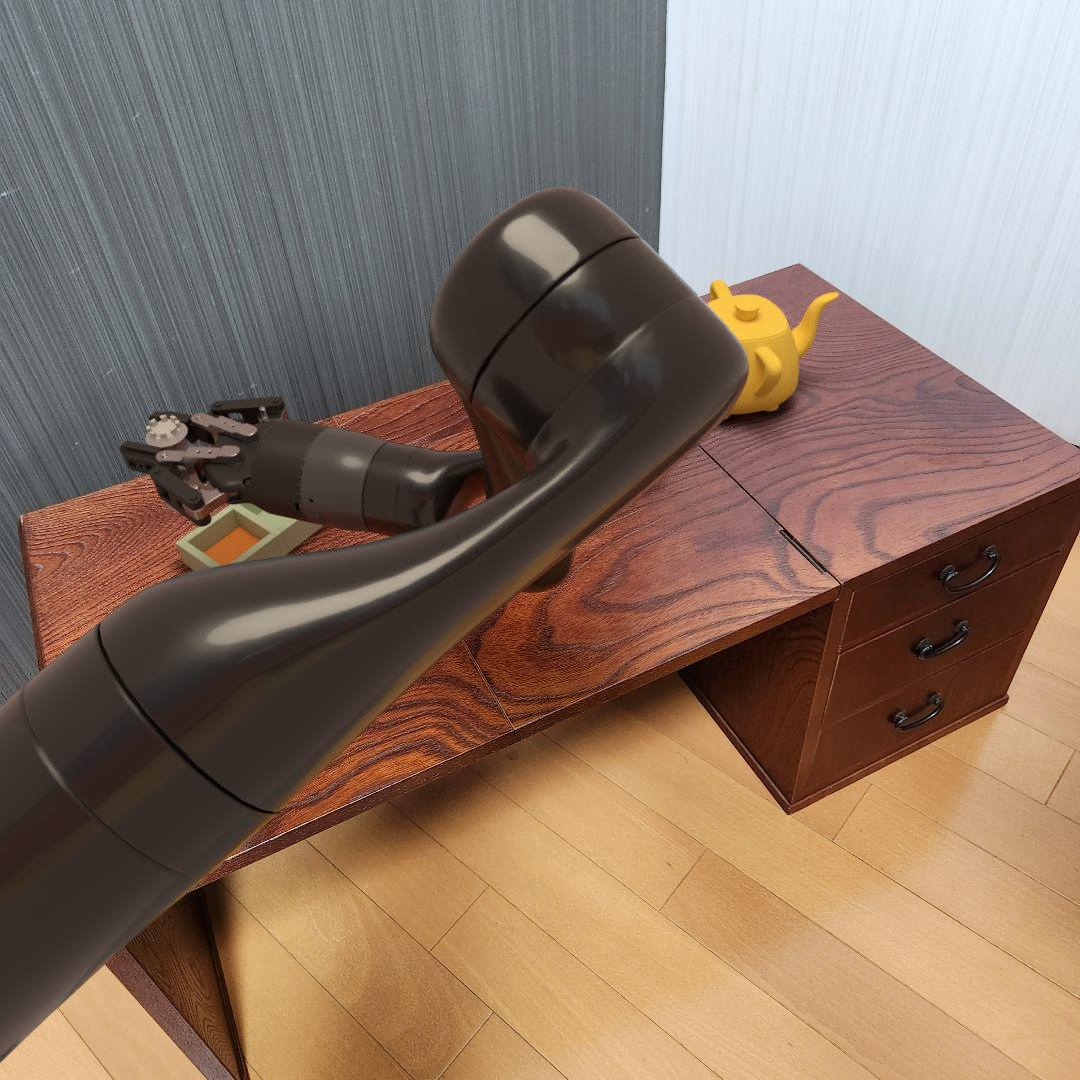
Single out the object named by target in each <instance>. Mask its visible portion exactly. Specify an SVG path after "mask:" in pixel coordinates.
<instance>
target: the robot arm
mask: <svg viewBox="0 0 1080 1080" xmlns="http://www.w3.org/2000/svg"><path fill="white" fill-rule="evenodd" d="M698 295H699V294H698V293H697V292H696V290H694V289H693V288H692V287H691V286H690V285H689V283H687V282H686V281H685V279H683V278H682V277H681V276H680V275H679V274H678V273H677V272H676V271H675V269H674V268H673V267H672V266H670V265H669V264H668V262H667V261H666V260H665V259H663V257H662V256H661V255H660V254H659V253H658V252H657V251H656V250H655V249H654V248H653V247H652V246H651V245H650V244H649V243H648V242H647V241H646V240H645V239H643V237H642V236H641V235H640V234H639V233H638V232H637V231H636V230H635V229H634V228H633V227H632V226H631V225H630V224H629V223H628V222H626V221H625V220H624V219H623V218H622V216H620V215H619V214H617V213H616V212H615V211H614V210H613V209H612V208H610V207H609V206H608V205H607V204H605V203H604V202H603V201H601V200H600V199H598V198H597V197H595V196H594V195H592V193H591V194H590V193H588V192H586V191H583V190H580V189H578V188H576V187H575V188H574V187H571V186H552V187H548V188H545V189H541V190H538V191H535V192H532V193H530V194H528V195H526V196H525V197H523V198H521V199H519V200H517V201H515V202H514V203H513V204H511V205H510V206H508V207H507V208H505V209H504V210H503V211H501V212H500V213H499V214H497V215H496V216H494V217H493V218H492V219H491V220H490V221H488V222H487V223H486V224H485V225H484V226H483V227H482V228H481V229H480V230H479V231H478V232H476V234H475V235H474V236H473V237H472V238H471V239H470V241H468V242H467V244H465V246H463V248H462V249H461V250H460V251H459V254H458V255H457V256H456V258H455V259H454V260H453V261H452V263H451V264H450V265H449V268H448V270H447V272H446V273H445V275H444V277H443V278H442V280H441V282H440V284H439V286H438V289H437V291H436V294H435V297H434V300H433V303H432V306H431V310H430V314H429V325H428V330H429V331H428V337H429V343H430V347H431V351H432V354H433V356H434V358H435V360H436V362H437V364H438V365H439V368H440V369H441V370H442V372H443V374H444V375H445V377H446V379H447V380H448V382H449V383H450V385H451V386H452V388H453V390H454V391H455V393H457V395H458V396H459V399H460V401H461V403H462V405H463V408H464V411H465V412H466V416H467V417H468V420H469V423H470V425H471V427H472V431H473V433H474V436H475V438H476V441H477V444H478V448H479V449H464V450H463V449H460V450H458V449H457V450H440V449H433V448H427V447H422V446H417V445H411V444H406V443H401V442H396V441H391V440H387V439H383V438H380V437H378V436H375V435H371V434H368V433H364V432H362V431H355V430H349V429H346V428H345V429H344V428H339V427H334V426H328V425H323V424H319V423H312V422H308V421H302V420H298V419H291V418H289V414H288V411H287V408H286V403H285V401H284V398H283V397H280V396H268V397H267V396H266V397H255V398H241V399H228V400H226V399H225V400H216V401H213V402H212V403H210V405H209V409H210V410H209V411H207V412H206V413H205V412H197V413H194V414H188V413H182V412H176V411H171V410H166V411H159V410H154V411H153V412H152V413H151V414H150V415H149V416H148V420H149V422H150V421H151V420H152V419H155V420H156V422H159V421H161V418H160V416H162V415H166V416H167V418H168V419H170V416H171V415H173V416H176V417H177V420H179V421H180V422H181V423H183V424H185V426H186V427H187V435H186V437H185V439H186V440H188V441H189V442H190V444H193V445H194V444H196V443H197V442H198V441H199V444H201V445H202V446H191V445H190V447H189V448H188V449H187V451H175V450H163V448H161V447H156V446H151V445H148V444H147V443H141V442H137V441H136V442H135V441H131V440H124V441H123V443H122V444H121V445H119V447H118V449H119V451H120V454H121V456H122V458H123V460H124V462H125V465H126V466H127V468H128V469H129V470H130V471H133V472H136V473H137V472H138V473H142V474H146V475H149V477H150V479H151V481H152V482H153V485H154V486H155V489H156V491H157V495H158V497H159V499H160V500H162V501H163V502H164V503H165V502H166V503H167V504H168V505H170V506H171V507H173V508H174V509H175V510H177V511H178V512H179V513H181V514H180V515H182V516H183V517H185V518H186V519H187V520H189V521H190V522H191V523H192V524H194V525H195V526H197V527H204V526H207V525H208V524H210V523H211V521H212V519H211V518H212V516H211V513H213V512H214V511H215V510H217V509H219V508H220V507H222V506H223V505H224V504H228V505H230V504H231V505H236V504H243V503H250V504H253V505H255V506H257V507H258V508H260V509H262V510H263V511H265V512H267V513H269V514H273V515H277V516H282V517H286V518H291V519H295V520H300V521H305V522H309V523H314V524H318V525H323V527H329V528H332V529H338V530H342V531H347V532H361V533H371V534H377V535H381V536H385V538H380V539H377V540H373V541H369V542H364V543H359V544H358V543H357V544H353V545H352V544H351V545H347V546H342V547H336V548H335V547H334V548H329V549H321V550H314V551H307V552H301V553H300V552H299V553H292V554H286V555H284V556H277V557H270V558H263V559H256V560H249V561H243V562H237V563H232V564H227V565H221V566H216V567H210V568H205V569H201V570H197V571H194V570H192V571H189V572H185V573H183V574H179V575H176V576H172V577H170V578H167V579H164V580H162V581H159V582H157V583H155V584H154V583H153V584H152V585H150V586H147V587H145V588H143V589H142V590H140V591H138V592H137V593H135V594H134V595H132V596H130V597H128V598H127V599H126V600H124V601H123V602H122V603H121V604H120V605H118V606H117V607H115V608H114V609H113V610H112V611H111V612H109V613H108V614H106V616H104V617H103V618H102V619H101V620H100V621H99V622H98V623H96V624H95V625H94V626H93V627H91V628H90V629H89V630H88V631H87V632H85V633H84V634H83V635H82V636H80V637H79V638H78V639H77V640H76V641H75V642H73V643H72V644H71V645H70V646H68V648H66V649H65V650H64V651H62V652H61V653H60V654H59V655H58V656H56V658H54V659H53V660H51V662H50V663H48V664H47V665H46V666H44V667H43V668H42V669H41V670H40V671H39V672H37V673H36V674H35V675H34V676H32V677H31V678H30V679H29V680H27V681H26V682H25V683H24V684H23V685H22V686H21V687H20V688H19V689H17V690H16V691H15V692H14V693H13V694H12V695H11V696H10V697H9V698H8V699H6V700H5V702H4V703H2V704H1V706H0V1064H2V1063H3V1061H4V1060H6V1058H7V1057H9V1055H10V1054H11V1053H13V1052H14V1051H15V1050H16V1049H17V1048H18V1046H20V1045H21V1044H22V1043H23V1042H24V1041H25V1040H26V1039H27V1038H28V1037H29V1036H30V1035H31V1034H33V1032H34V1031H35V1030H36V1029H37V1028H38V1027H40V1026H41V1025H42V1024H43V1023H44V1021H46V1020H47V1019H48V1018H49V1017H50V1016H51V1015H52V1014H53V1013H54V1012H55V1011H56V1010H57V1009H58V1008H60V1007H61V1006H62V1005H63V1004H64V1003H65V1002H67V1001H68V999H69V998H71V997H72V996H73V995H74V994H75V993H76V992H77V991H78V990H79V989H80V988H82V986H83V985H84V984H86V983H87V982H88V981H89V980H90V979H91V978H92V977H93V976H95V974H96V973H98V971H100V970H101V969H102V968H103V967H104V966H105V965H106V964H108V962H110V961H111V960H112V959H113V958H114V957H115V956H116V955H118V953H119V952H121V950H123V949H124V948H126V946H128V945H129V944H130V943H131V942H132V941H133V940H134V939H136V938H137V937H138V936H139V935H140V934H141V933H142V932H144V930H146V929H147V928H148V927H149V926H151V925H152V924H153V923H154V922H156V920H158V919H159V918H160V917H161V916H162V915H163V914H165V913H166V912H167V911H168V910H169V909H170V908H172V907H174V905H175V904H176V903H178V902H179V901H180V900H182V899H183V898H184V897H185V896H186V895H187V894H188V893H190V892H191V891H192V890H193V889H194V888H196V887H197V886H198V885H200V883H202V882H203V881H204V880H205V879H207V878H208V877H209V876H210V875H211V874H212V873H213V872H214V871H216V870H217V869H218V868H220V866H221V865H223V864H224V862H226V861H227V860H228V859H229V858H230V857H232V856H233V855H234V854H235V853H236V852H237V851H238V850H240V848H241V847H242V846H244V844H246V843H247V842H248V841H249V840H250V839H252V838H253V837H254V836H255V835H256V834H257V833H259V831H260V830H261V829H263V828H264V827H265V826H266V825H267V824H268V823H270V821H272V820H273V819H274V818H275V817H276V816H277V815H278V814H279V812H280V811H282V810H283V809H285V807H287V806H288V805H289V804H290V803H291V802H292V801H293V800H294V799H295V798H296V797H297V796H298V795H300V794H301V792H302V791H303V790H305V789H306V788H307V787H308V786H309V785H310V784H311V783H312V782H313V781H314V780H315V779H316V778H317V777H318V776H319V775H321V773H322V772H323V771H324V770H325V769H327V767H329V766H330V765H331V764H332V763H333V762H334V761H335V760H336V759H338V757H339V756H340V755H342V754H343V752H344V751H345V750H346V749H347V748H349V747H350V745H352V744H353V742H355V741H356V740H357V739H358V738H359V737H360V736H361V735H362V734H363V733H364V732H365V731H367V729H368V728H370V727H371V725H372V724H373V723H375V722H376V721H377V719H379V718H380V717H381V716H382V715H383V714H384V713H385V712H386V711H387V710H388V709H390V707H391V706H392V705H394V704H395V703H396V701H398V699H400V698H401V697H402V696H403V695H404V694H405V693H406V692H407V691H408V690H409V689H411V687H413V685H415V684H416V683H417V682H418V681H419V680H421V678H422V677H423V676H424V675H425V674H426V673H428V671H430V670H431V669H432V668H433V667H434V666H435V665H436V664H438V663H439V662H440V661H441V660H442V659H443V658H444V657H445V656H447V654H449V653H450V652H451V651H452V650H453V649H454V648H455V647H457V646H458V645H459V644H460V643H461V642H463V641H464V640H465V639H466V638H467V637H468V636H469V635H470V634H472V633H473V632H474V631H475V630H477V629H478V628H479V627H480V626H481V625H483V623H485V622H486V621H487V620H489V619H490V618H491V617H492V616H493V615H495V614H496V613H498V612H499V611H500V610H501V609H502V608H503V607H505V606H506V605H507V604H508V603H510V602H511V601H512V600H513V599H514V598H516V597H517V596H518V595H519V594H521V593H523V594H524V593H525V594H539V593H544V592H547V591H550V590H553V589H555V588H557V587H559V586H561V585H562V584H563V583H564V582H565V581H566V580H567V579H568V578H569V576H570V575H571V571H572V568H573V564H574V560H575V556H576V552H577V548H578V547H579V546H580V545H582V544H583V543H585V541H587V540H589V538H590V537H592V536H593V535H594V534H595V533H596V532H598V531H599V530H600V529H602V528H603V527H604V526H605V525H607V524H608V523H609V522H611V521H612V520H613V519H615V517H616V516H618V515H619V514H620V513H622V512H623V511H624V510H625V509H627V508H628V507H629V506H630V505H632V504H633V503H634V502H636V501H637V500H638V499H639V498H640V497H641V496H643V495H644V494H645V493H647V491H649V490H650V489H651V488H653V487H654V486H655V485H656V484H657V483H658V482H660V481H661V480H662V479H663V478H664V477H666V476H667V475H668V474H669V473H670V472H671V471H673V470H674V469H675V468H677V466H678V465H680V464H681V463H682V462H683V461H684V460H685V459H686V458H687V457H689V456H690V455H691V454H692V453H693V452H694V451H695V450H696V449H697V448H698V447H700V445H702V443H703V442H705V440H707V438H708V437H709V436H710V435H711V434H712V433H713V432H714V431H715V430H716V429H717V427H718V426H719V425H720V424H721V423H722V422H723V421H725V419H724V418H725V417H726V416H727V415H728V413H729V412H730V411H731V409H732V408H733V406H734V405H735V403H736V402H737V400H738V398H739V396H740V395H741V393H742V391H743V389H744V386H745V384H746V382H747V378H748V374H749V362H748V357H747V354H746V351H745V349H744V347H743V346H742V344H741V343H740V341H739V340H738V339H737V337H736V336H735V335H734V333H733V332H732V331H731V330H730V329H729V327H728V326H727V325H726V324H725V323H724V322H723V321H722V320H721V319H720V317H719V316H718V315H717V314H716V313H715V312H714V311H713V310H712V309H711V308H710V307H709V306H708V304H707V303H708V302H706V301H704V299H702V298H701V297H699V296H698ZM230 414H240V415H241V416H242V418H231V416H230ZM177 465H179V466H184V467H185V468H186V470H184V469H179V468H178V466H177ZM188 484H189V485H188ZM190 485H192V487H191V486H190ZM484 496H485V499H484V500H483V501H481V502H480V503H478V504H476V505H473V506H471V505H472V504H473V503H474V502H475V501H477V500H478V499H480V498H481V497H484ZM179 513H178V514H179Z"/></svg>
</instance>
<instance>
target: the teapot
mask: <svg viewBox="0 0 1080 1080" xmlns="http://www.w3.org/2000/svg"><path fill="white" fill-rule="evenodd" d="M839 296H840V293H839V292H837V291H831V292H828V293H824V294H822V295H820V296H818V297H816V298H815V299H814V300H812V302H811V303H810V305H808V307H807V309H806V310H805V313H804V315H803V317H802V319H801V320H800V322H799V323H798V324H797V326H795V328H793V329H791V327H790V324H789V321H788V320H787V317H786V316H785V314H784V313H783V311H782V310H781V309H780V308H779V307H778V306H777V305H776V304H775V303H773V302H772V301H771V300H769V299H768V298H766V297H764V296H761V295H758V294H738V295H733V294H732V292H731V290H730V287H729V286H728V284H727V283H726V282H725V281H724V280H722V279H715V280H713V281H712V282H711V283H710V286H709V302H706V303H707V304H708V306H709V307H710V308H711V309H712V310H713V311H714V312H715V313H716V314H717V315H718V316H719V317H720V319H721V320H722V321H723V322H724V323H725V324H726V325H727V326H728V327H729V329H730V330H731V331H732V332H733V333H734V335H735V336H736V337H737V339H738V340H739V341H740V343H741V344H742V346H743V347H744V349H745V351H746V354H747V357H748V362H749V374H748V378H747V382H746V384H745V386H744V389H743V391H742V393H741V395H740V396H739V398H738V400H737V402H736V403H735V405H734V406H733V408H732V409H731V411H730V412H729V413H728V415H727V416H726V417H725V418H724V420H726V419H728V418H729V417H730V416H731V415H745V414H753V413H757V412H762V411H765V412H774V411H776V410H778V409H779V406H780V405H781V404H783V403H784V402H785V401H787V399H789V398H790V397H791V396H792V395H793V394H794V393H795V391H796V389H797V387H798V383H799V376H800V375H799V374H800V360H801V359H802V358H803V357H804V356H805V355H806V354H807V353H808V352H809V351H810V349H811V347H812V346H813V343H814V341H815V338H816V334H817V329H818V325H819V321H820V318H821V316H822V314H823V312H824V310H825V309H826V307H827V306H829V304H830V303H832V302H833V301H834V300H836V299H837V298H838V297H839Z"/></svg>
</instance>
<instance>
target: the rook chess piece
mask: <svg viewBox="0 0 1080 1080" xmlns="http://www.w3.org/2000/svg"><path fill="white" fill-rule="evenodd" d="M160 418H161V421H159V422H156V420H155V419H152V420H151V421H149V422H148V424H149V425H146V427H145V428H146V429H145V430H146V432H147V433H146V435H145V442H146V444H147V445H151V446H156V447H161V448H163V450H175V451H187V449H188V448H189V447H191V443H190V442H189V441H188V440H186V439H185V437H186V435H187V427H186V426H185V424H183V423H181V422H180V421H179V420H177V417H176V416H173V415H171V416H170V419H168V418H167V416H166V415H162V416H160ZM177 466H178V468H179V469H184V470H186V468H185V467H184V466H179V465H177ZM188 485H189V484H188ZM190 486H191V487H192V485H190ZM164 503H165V504H164V505H165V506H166V507H167V509H168V510H170V511H172V512H176V513H177V514H180V515H182V514H181V513H179V512H178V511H177V510H175V509H174V508H173V507H171V506H170V505H168V504H167V503H166V502H164Z"/></svg>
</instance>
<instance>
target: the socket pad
mask: <svg viewBox="0 0 1080 1080" xmlns="http://www.w3.org/2000/svg"><path fill="white" fill-rule="evenodd" d="M211 519H212V521H211V523H210V524H208V525H207V526H204V527H199V526H197V527H196V528H194V529H193V530H192V531H190V532H188V533H187V534H186V535H184V536H183V537H182V538H180V539H179V540H177V541H176V542H175V546H176V548H177V550H178V552H179V554H180V557H181V559H182V561H183V563H184V565H186V566H187V567H189V569H191V570H192V571H197V570H201V569H205V568H210V567H216V566H221V565H227V564H232V563H237V562H243V561H249V560H256V559H263V558H270V557H277V556H284V555H289V553H291V552H292V551H293V550H294V549H295V548H297V547H298V546H299V545H301V544H302V543H304V541H306V540H307V539H309V538H310V537H311V536H313V535H314V534H315V533H316V532H317V531H319V530H320V529H321V528H323V527H324V526H323V525H318V524H314V523H309V522H305V521H300V520H295V519H291V518H286V517H282V516H277V515H273V514H269V513H267V512H265V511H263V510H262V509H260V508H258V507H257V506H255V505H253V504H250V503H243V504H236V505H231V504H228V505H227V506H225V507H224V508H223V509H221V510H220V511H219V512H217V513H216V514H215V515H213V516H211Z"/></svg>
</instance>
